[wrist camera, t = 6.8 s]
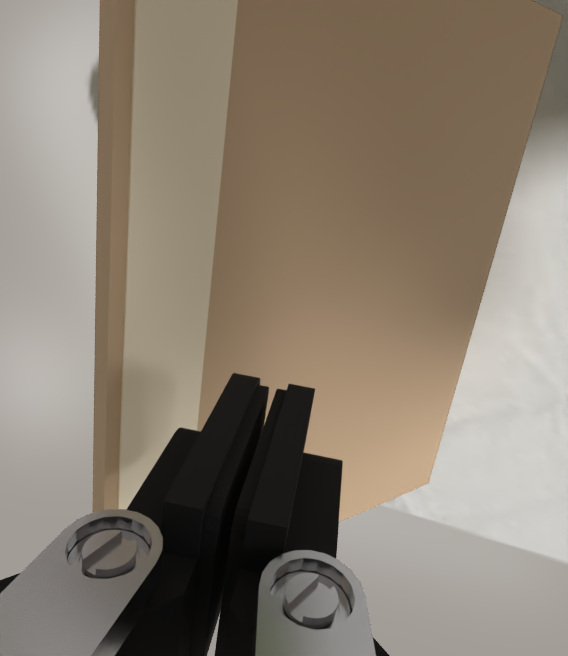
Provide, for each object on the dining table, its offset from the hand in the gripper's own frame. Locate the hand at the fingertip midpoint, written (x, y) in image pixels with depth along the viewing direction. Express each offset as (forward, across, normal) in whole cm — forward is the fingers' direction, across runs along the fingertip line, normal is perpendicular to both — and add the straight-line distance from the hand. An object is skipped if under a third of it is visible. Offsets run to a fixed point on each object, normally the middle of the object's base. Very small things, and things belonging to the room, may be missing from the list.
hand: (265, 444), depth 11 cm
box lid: (+9, -1, 0) cm, 9 cm away
